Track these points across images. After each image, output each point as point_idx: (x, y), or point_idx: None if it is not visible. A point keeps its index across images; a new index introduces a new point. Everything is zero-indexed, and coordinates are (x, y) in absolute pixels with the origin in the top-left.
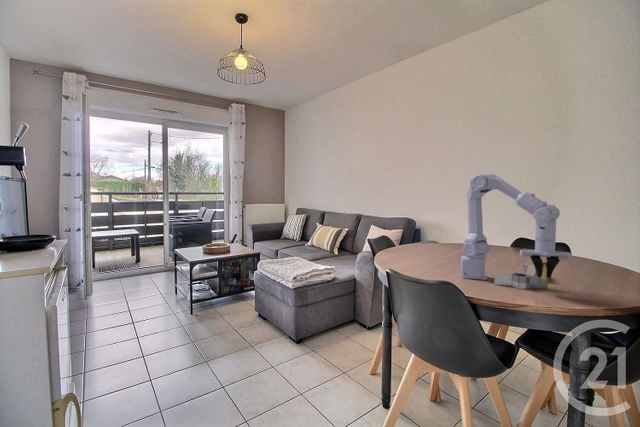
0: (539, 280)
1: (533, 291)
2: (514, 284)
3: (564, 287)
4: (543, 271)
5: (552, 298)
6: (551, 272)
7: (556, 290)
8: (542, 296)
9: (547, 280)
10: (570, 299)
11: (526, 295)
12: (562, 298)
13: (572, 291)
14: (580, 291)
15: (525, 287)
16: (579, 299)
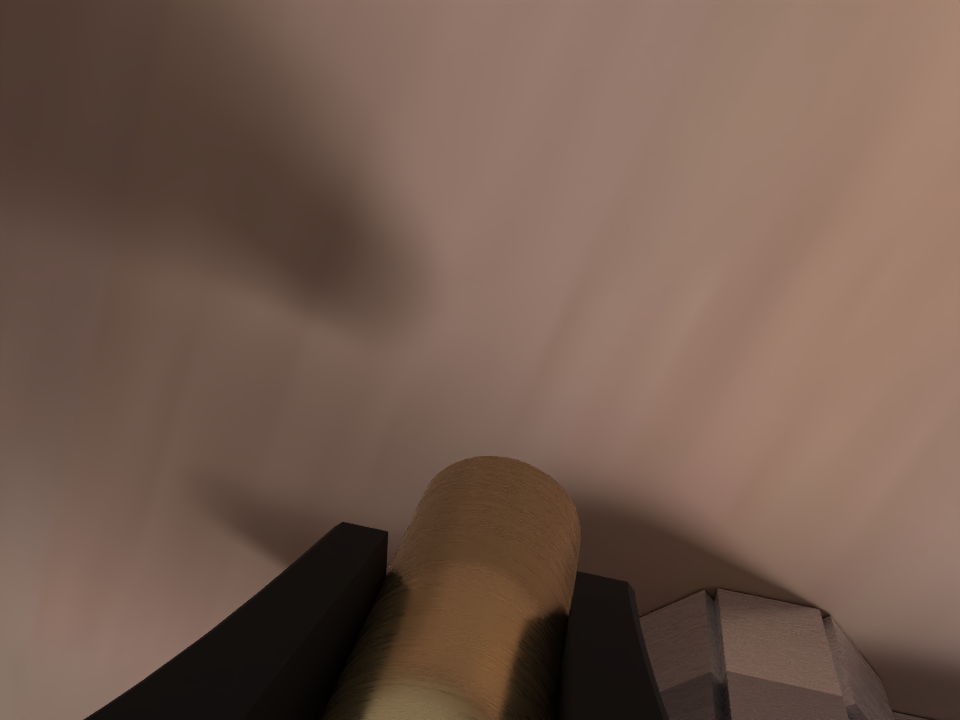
0: (577, 555)
1: (640, 488)
2: (879, 700)
3: (142, 657)
4: (480, 699)
5: (483, 154)
6: (259, 615)
7: (273, 550)
8: (615, 243)
9: (422, 505)
10: (207, 155)
11: (913, 257)
12: (313, 186)
13: (90, 523)
14: (2, 528)
15: (712, 614)
16: (80, 182)
